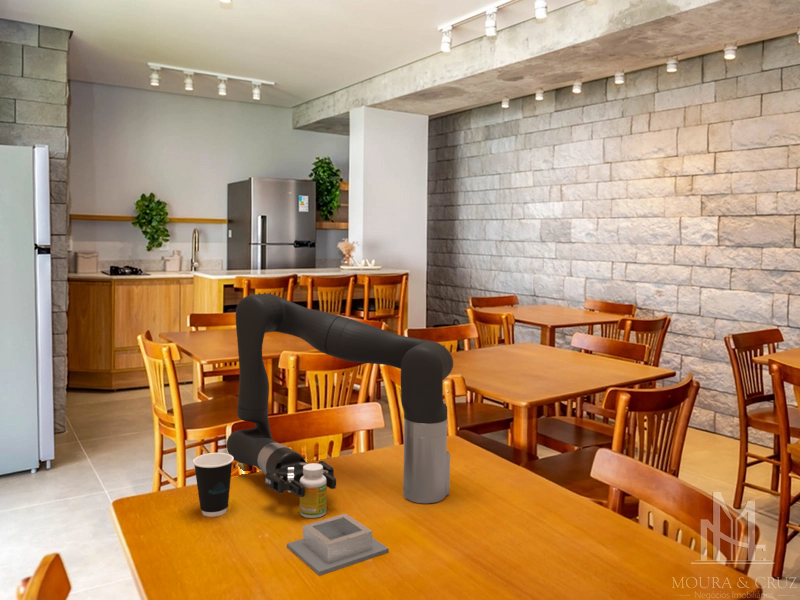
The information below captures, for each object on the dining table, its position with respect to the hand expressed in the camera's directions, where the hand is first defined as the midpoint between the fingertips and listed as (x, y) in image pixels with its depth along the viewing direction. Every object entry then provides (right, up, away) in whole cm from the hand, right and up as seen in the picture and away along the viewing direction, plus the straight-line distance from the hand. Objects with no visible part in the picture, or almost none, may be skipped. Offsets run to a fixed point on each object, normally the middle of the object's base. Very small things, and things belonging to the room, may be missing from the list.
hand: (318, 487), depth 131 cm
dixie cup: (-21, -6, +3) cm, 22 cm away
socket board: (+5, -8, -13) cm, 16 cm away
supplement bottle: (-1, -6, +2) cm, 7 cm away
